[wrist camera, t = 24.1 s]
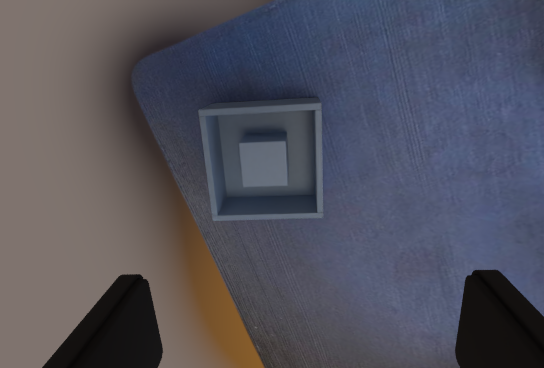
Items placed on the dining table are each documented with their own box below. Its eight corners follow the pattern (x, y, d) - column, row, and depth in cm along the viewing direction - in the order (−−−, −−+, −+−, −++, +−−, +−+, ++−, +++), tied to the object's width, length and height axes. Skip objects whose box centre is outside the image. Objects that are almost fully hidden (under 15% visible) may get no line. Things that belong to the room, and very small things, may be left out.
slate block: (245, 133, 37) (238, 143, 32) (287, 131, 36) (285, 140, 32) (248, 173, 38) (242, 187, 34) (289, 172, 38) (288, 185, 33)
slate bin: (212, 103, 36) (197, 109, 31) (318, 97, 35) (321, 102, 30) (223, 200, 40) (212, 221, 35) (319, 197, 39) (323, 218, 34)
